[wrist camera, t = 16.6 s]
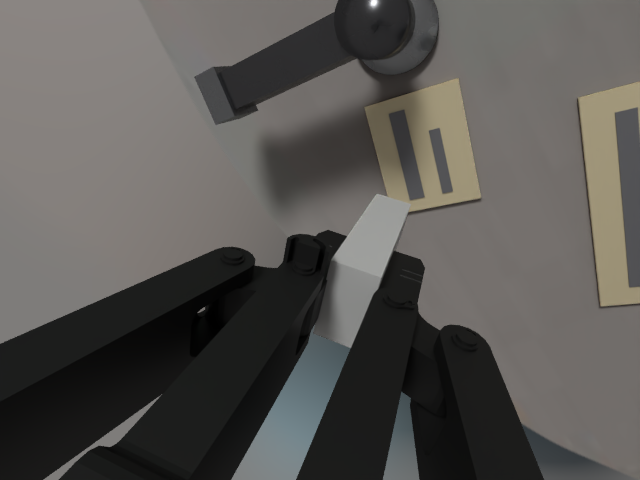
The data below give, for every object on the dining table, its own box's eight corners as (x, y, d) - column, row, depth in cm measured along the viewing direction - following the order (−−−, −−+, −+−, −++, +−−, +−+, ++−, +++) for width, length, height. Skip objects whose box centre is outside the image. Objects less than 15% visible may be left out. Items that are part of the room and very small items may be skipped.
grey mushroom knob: (446, 58, 29) (443, 58, 25) (366, 85, 31) (350, 89, 27) (428, -37, 27) (420, -53, 23) (344, 0, 29) (324, -9, 25)
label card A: (480, 196, 32) (481, 198, 31) (393, 213, 34) (392, 215, 34) (458, 77, 29) (458, 78, 29) (365, 106, 32) (363, 107, 31)
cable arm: (403, -28, 23) (393, -41, 20) (424, 43, 24) (418, 41, 21) (219, 69, 29) (190, 70, 26) (242, 123, 30) (217, 130, 27)
